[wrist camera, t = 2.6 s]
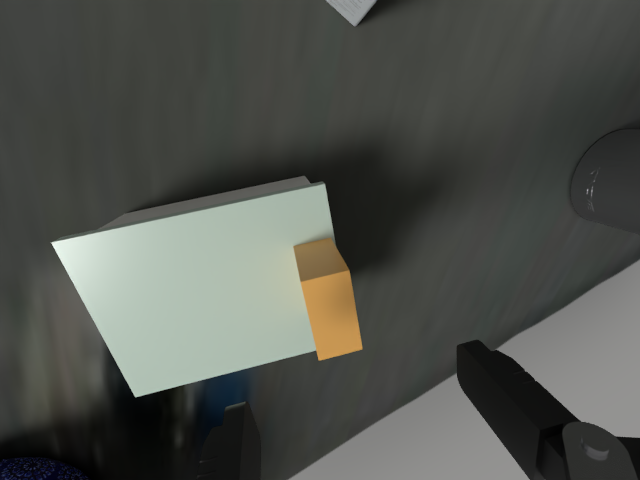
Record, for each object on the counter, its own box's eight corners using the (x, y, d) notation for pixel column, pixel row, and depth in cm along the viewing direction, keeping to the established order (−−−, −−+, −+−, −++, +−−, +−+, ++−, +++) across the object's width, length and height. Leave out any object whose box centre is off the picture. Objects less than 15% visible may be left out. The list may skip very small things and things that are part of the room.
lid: (319, 178, 21) (343, 201, 14) (346, 323, 25) (374, 394, 18) (74, 230, 19) (-29, 283, 13) (146, 374, 24) (98, 470, 17)
